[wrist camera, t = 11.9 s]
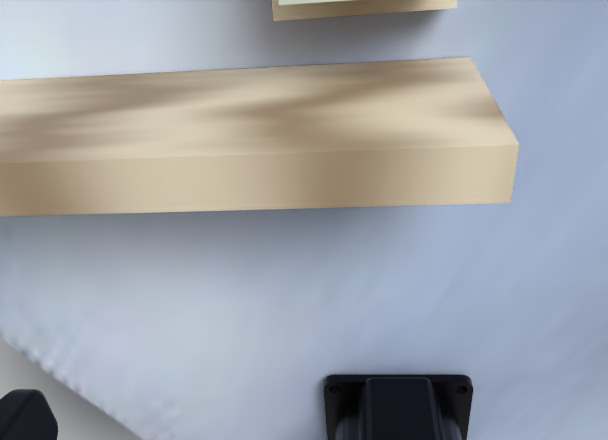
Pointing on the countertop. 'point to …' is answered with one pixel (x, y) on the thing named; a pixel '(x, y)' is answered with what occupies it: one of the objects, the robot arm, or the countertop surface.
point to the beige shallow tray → (255, 140)
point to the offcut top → (304, 1)
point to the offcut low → (354, 8)
